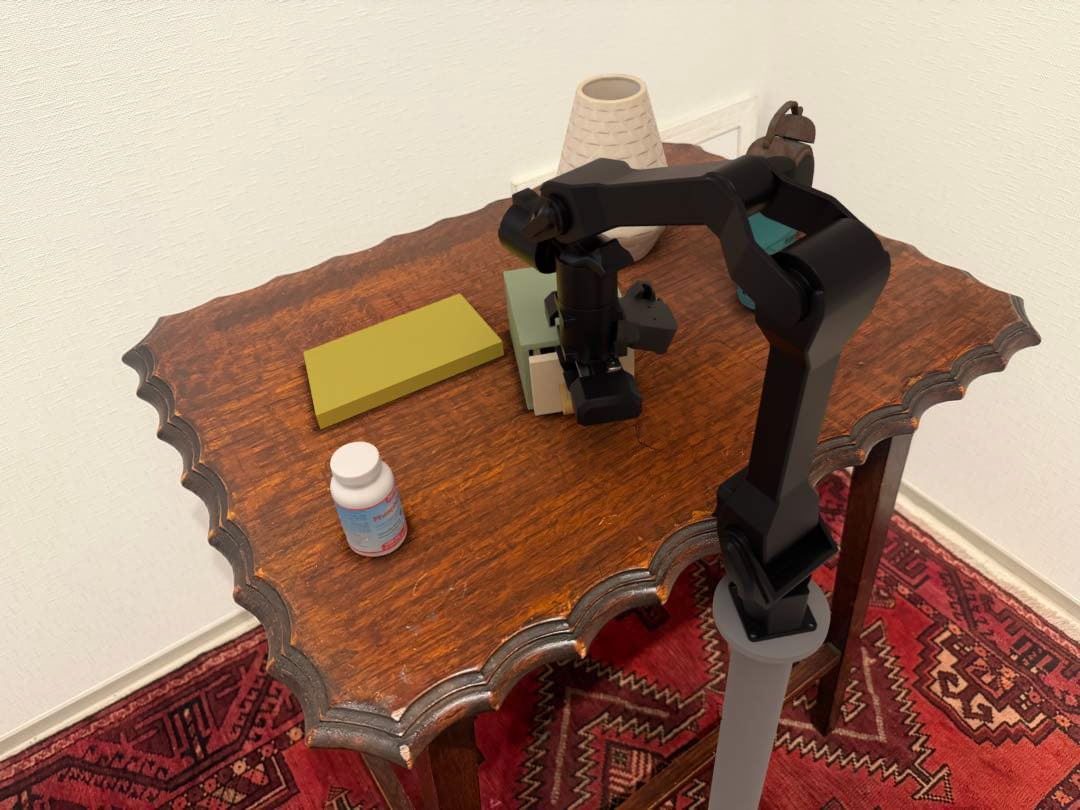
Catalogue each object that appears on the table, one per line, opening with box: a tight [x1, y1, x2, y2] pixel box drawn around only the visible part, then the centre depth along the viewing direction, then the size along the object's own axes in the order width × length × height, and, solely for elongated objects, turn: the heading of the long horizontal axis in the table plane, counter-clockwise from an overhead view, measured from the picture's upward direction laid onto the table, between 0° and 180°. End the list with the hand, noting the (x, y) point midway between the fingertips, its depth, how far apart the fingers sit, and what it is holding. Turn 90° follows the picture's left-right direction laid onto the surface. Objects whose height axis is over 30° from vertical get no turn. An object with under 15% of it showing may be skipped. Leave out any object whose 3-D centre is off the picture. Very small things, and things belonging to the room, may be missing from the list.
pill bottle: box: [329, 441, 408, 558], centre depth 84 cm, size 6×6×11 cm
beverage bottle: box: [735, 156, 799, 310], centre depth 105 cm, size 6×7×20 cm
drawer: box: [529, 347, 634, 417], centre depth 99 cm, size 18×11×8 cm, turn 9°
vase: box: [555, 73, 669, 263], centre depth 116 cm, size 18×17×23 cm
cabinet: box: [503, 266, 636, 411], centre depth 103 cm, size 15×13×10 cm
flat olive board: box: [303, 293, 505, 430], centre depth 107 cm, size 12×2×24 cm
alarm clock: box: [745, 100, 817, 187], centre depth 115 cm, size 15×7×20 cm, turn 147°
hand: (592, 412), depth 92 cm, fingers closed
